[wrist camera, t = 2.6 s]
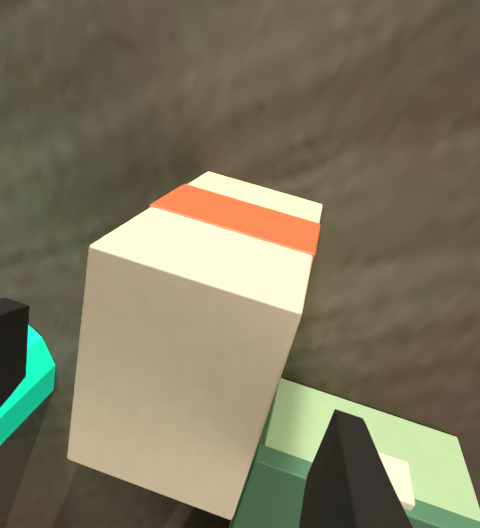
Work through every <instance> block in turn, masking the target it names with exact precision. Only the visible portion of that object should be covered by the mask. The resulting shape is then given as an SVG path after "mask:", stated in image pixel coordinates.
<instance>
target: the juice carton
mask: <svg viewBox="0 0 480 528" xmlns="http://www.w3.org/2000/svg"><path fill="white" fill-rule="evenodd" d="M322 207H323V205H322V204H320V203H316V202H313V201H309V200H306V199H302V198H299V197H295V196H292V195H289V194H285V193H282V192H278V191H275V190H271V189H268V188H264V187H261V186H258V185H254V184H251V183H247V182H244V181H240V180H237V179H233V178H230V177H227V176H223V175H220V174H216V173H213V172H209V171H208V172H206V173H204V174H203V175H201V176H200V177H198V178H196V179H195V180H193V181H192V182H190V183H188V184H183V185H181V186H179V187H178V188H176V189H175V190H173V191H171V192H170V193H168V194H166V195H165V196H163V197H161V198H160V199H158V200H156V201H155V202H153V203H152V204H150V205H149V208H148V209H147V210H145V211H144V212H142V213H140V214H139V215H137V216H136V217H134V218H132V219H131V220H129V221H128V222H126V223H124V224H123V225H121V226H120V227H118V228H117V229H115V230H113V231H112V232H110V233H109V234H107V235H105V236H104V237H102V238H101V239H99V240H97V241H96V242H94V243H93V244H91V245H90V246H89V253H88V262H87V272H86V281H85V291H84V301H83V310H82V320H81V329H80V339H79V348H78V358H77V368H76V377H75V387H74V396H73V406H72V416H71V425H70V435H69V444H68V454H67V459H69V460H71V461H74V462H76V463H79V464H82V465H84V466H87V467H90V468H92V469H95V470H98V471H100V472H103V473H106V474H108V475H111V476H114V477H116V478H119V479H122V480H124V481H127V482H130V483H132V484H135V485H138V486H140V487H143V488H146V489H148V490H151V491H154V492H156V493H159V494H162V495H164V496H167V497H170V498H172V499H175V500H178V501H180V502H183V503H186V504H188V505H191V506H194V507H196V508H199V509H202V510H204V511H207V512H210V513H212V514H215V515H218V516H220V517H223V518H226V519H228V520H231V519H232V518H233V516H234V513H235V510H236V507H237V504H238V501H239V498H240V495H241V492H242V489H243V486H244V483H245V480H246V477H247V474H248V472H249V469H250V466H251V463H252V460H253V457H254V454H255V451H256V448H257V445H258V442H259V439H260V436H261V433H262V430H263V427H264V425H265V422H266V419H267V416H268V413H269V410H270V407H271V404H272V401H273V398H274V395H275V392H276V389H277V386H278V383H279V380H280V378H281V375H282V372H283V369H284V366H285V363H286V360H287V357H288V354H289V351H290V348H291V345H292V342H293V339H294V336H295V334H296V331H297V328H298V325H299V322H300V319H301V316H302V312H303V307H304V301H305V296H306V291H307V286H308V280H309V275H310V271H311V268H312V265H313V262H314V259H315V255H316V250H317V244H318V238H319V233H320V227H321V225H320V224H319V223H320V217H321V212H322Z"/></svg>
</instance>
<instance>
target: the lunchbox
mask: <svg viewBox="0 0 480 528" xmlns="http://www.w3.org/2000/svg"><path fill="white" fill-rule="evenodd" d="M335 409H337V410H340V411H343V412H346V413H349V414H352V415H355V416H357V417H360V418H363V419H364V421H365V423H366V425H367V428H368V430H369V432H370V435H371V437H372V439H373V442H374V444H375V447H376V449H377V451H378V454H379V456H380V458H381V461H382V463H383V465H384V467H385V470H386V472H387V474H388V477H389V479H390V481H391V483H392V485H393V487H394V490H395V492H396V494H397V496H398V498H399V500H400V502H401V504H402V506H403V508H404V510H405V512H406V514H407V517H408V519H409V521H410V523H411V525H412V527H413V528H480V508H479V505H478V502H477V498H476V495H475V492H474V489H473V486H472V483H471V480H470V476H469V473H468V470H467V467H466V464H465V461H464V457H463V454H462V451H461V448H460V445H459V442H458V438H457V437H455V436H452V435H449V434H446V433H443V432H440V431H437V430H434V429H431V428H428V427H425V426H422V425H419V424H416V423H414V422H411V421H408V420H405V419H402V418H399V417H396V416H393V415H390V414H387V413H384V412H381V411H378V410H375V409H372V408H369V407H366V406H363V405H360V404H357V403H354V402H351V401H348V400H345V399H342V398H339V397H336V396H333V395H330V394H327V393H324V392H321V391H318V390H315V389H312V388H309V387H306V386H303V385H300V384H297V383H294V382H291V381H288V380H285V379H282V378H280V380H279V383H278V386H277V389H276V392H275V395H274V398H273V401H272V404H271V407H270V410H269V413H268V416H267V419H266V422H265V425H264V427H263V430H262V433H261V436H260V439H259V442H258V445H257V448H256V451H255V454H254V457H253V460H252V463H251V466H250V469H249V472H248V474H247V477H246V480H245V483H244V486H243V489H242V492H241V495H240V498H239V501H238V504H237V507H236V510H235V513H234V516H233V518H232V519H231V522H230V525H229V528H299V522H300V516H301V509H302V502H303V496H304V490H305V484H306V478H307V475H308V472H309V470H310V467H311V465H312V463H313V460H314V458H315V455H316V453H317V451H318V448H319V446H320V443H321V441H322V439H323V436H324V434H325V431H326V429H327V427H328V424H329V422H330V420H331V417H332V415H333V412H334V410H335Z"/></svg>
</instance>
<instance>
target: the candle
mask: <svg viewBox="0 0 480 528" xmlns="http://www.w3.org/2000/svg"><path fill="white" fill-rule="evenodd" d="M54 378H55V363H54V361H53V359H52V357H51V355H50V353H49V350H48V348H47V346H46V344H45V342H44V340H43V338H42V337H41V336H40V335H39V334H38V333H37V332H36V331H35V330H34V329H32V328H31V327H30V326H29V325H28V343H27V364H26V377H25V378H24V379H23V381H22V382H21V383H20V384H19V386H18V387H17V388H16V389H15V391H14V392H13V393H12V394H11V396H10V397H9V398H8V399H7V400H6V402H5V403H4V404H3V405H2V406H1V408H0V445H1V444H2V443H3V442H4V441H5V440H6V439H7V438H8V437H9V436H10V435H11V434H12V433H13V432H14V431H15V430H16V429H17V428H18V427H19V425H20V424H21V423H22V422H23V421H24V420H25V419H26V418H27V417H28V416H29V415H30V414H31V413H32V412H33V411H34V410H35V409H36V408H37V407H38V406H39V405H40V404H41V403H42V402H43V400H44V399H45V398H46V397H47V396H48V395H49V394H50V393H51V392H52V391H53V390H54Z"/></svg>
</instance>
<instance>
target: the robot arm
mask: <svg viewBox="0 0 480 528" xmlns="http://www.w3.org/2000/svg"><path fill="white" fill-rule="evenodd" d="M28 321H29V306H28V305H25V304H22V303H19V302H16V301H14V300H11V299H8V298H2V299H0V408H1V406H2V405H3V404H4V403H5V402H6V400H7V399H8V398H9V397H10V396H11V394H12V393H13V392H14V391H15V389H16V388H17V387H18V386H19V384H20V383H21V382H22V381H23V379H24V378H25V377H26V364H27V343H28ZM299 528H413V527H412V525H411V523H410V521H409V519H408V517H407V514H406V512H405V510H404V508H403V506H402V504H401V502H400V500H399V498H398V496H397V494H396V492H395V490H394V487H393V485H392V483H391V481H390V479H389V477H388V474H387V472H386V470H385V467H384V465H383V463H382V461H381V458H380V456H379V454H378V451H377V449H376V447H375V444H374V442H373V439H372V437H371V435H370V432H369V430H368V428H367V425H366V423H365V421H364V419H363V418H360V417H357V416H355V415H352V414H349V413H346V412H343V411H340V410H337V409H335V410H334V412H333V415H332V417H331V420H330V422H329V424H328V427H327V429H326V431H325V434H324V436H323V439H322V441H321V443H320V446H319V448H318V451H317V453H316V455H315V458H314V460H313V463H312V465H311V467H310V470H309V472H308V475H307V478H306V484H305V490H304V496H303V502H302V509H301V516H300V522H299Z"/></svg>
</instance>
